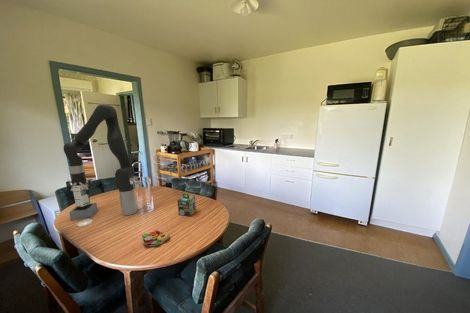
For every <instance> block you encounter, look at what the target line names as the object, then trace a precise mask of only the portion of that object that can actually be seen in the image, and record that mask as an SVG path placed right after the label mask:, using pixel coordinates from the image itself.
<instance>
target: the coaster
mask: <svg viewBox="0 0 470 313" xmlns="http://www.w3.org/2000/svg"><path fill="white" fill-rule="evenodd" d="M93 222H94V221H93V219H92V218H88V219H81V221H79V222H77V223H76V227H80V228H81V227H86V226H88V225H91V224H92V223H93Z"/></svg>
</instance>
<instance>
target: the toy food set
mask: <svg viewBox="0 0 470 313" xmlns="http://www.w3.org/2000/svg"><path fill="white" fill-rule="evenodd" d="M170 237H171V236H170V233H169V232H165V231H160V230H159V229H155V230H152V231H151V232H149V233H144V234H142V235H141V238H142V241H141V242H142V244H143V245H144V246H146V247H158V246H160V245H162V244H163V243H164V242H165V241H167V240H168V239H169V238H170Z"/></svg>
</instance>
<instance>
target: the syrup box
mask: <svg viewBox="0 0 470 313" xmlns="http://www.w3.org/2000/svg"><path fill="white" fill-rule="evenodd" d="M87 184H88V183H87ZM87 184H84V185H87ZM72 186H73V185H72ZM73 187H74V188H73V193H74V196H73V197H74V202H75V207H76V206H80V207H83V206H85V205H87V204H90V203H91V200H90V199H91V198H90V194H89V195H87V191H86V190H87V189H86V188H84V187H83V186H82V185H76V186H73Z"/></svg>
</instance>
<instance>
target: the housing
mask: <svg viewBox="0 0 470 313" xmlns="http://www.w3.org/2000/svg"><path fill="white" fill-rule="evenodd" d="M97 203H98V202H96V201H95V202H90V204H87V205H85V206H83V207H80V206H76V205H75V206H74V207H73V208H72V209H71V210H70V211H69V212H68V213H69V218H70V221H79V220H86V219H92V217H93V216H94V215H95V214H96V213H97V212H98V211H99V209H98V204H97Z"/></svg>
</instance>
